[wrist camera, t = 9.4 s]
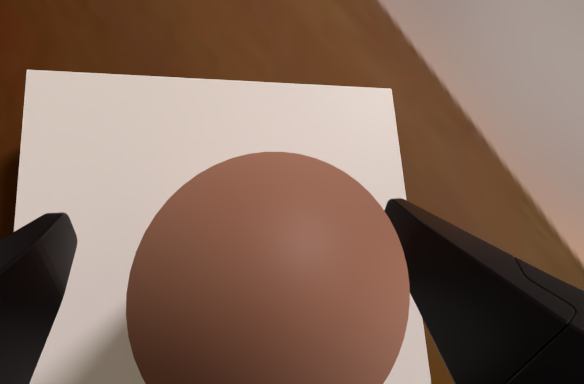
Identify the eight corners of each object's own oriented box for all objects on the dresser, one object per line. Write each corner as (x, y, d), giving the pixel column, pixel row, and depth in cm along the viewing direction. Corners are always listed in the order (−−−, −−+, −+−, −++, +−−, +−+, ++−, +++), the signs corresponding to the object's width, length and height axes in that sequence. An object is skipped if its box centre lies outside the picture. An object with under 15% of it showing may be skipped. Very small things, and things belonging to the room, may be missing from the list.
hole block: (388, 392, 17) (437, 435, 13) (56, 460, 13) (-13, 548, 9) (358, 120, 19) (391, 88, 16) (74, 113, 16) (26, 69, 12)
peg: (282, 256, 17) (455, 282, 4) (234, 307, 16) (282, 527, 3) (237, 210, 17) (283, 100, 4) (186, 257, 16) (51, 295, 3)
